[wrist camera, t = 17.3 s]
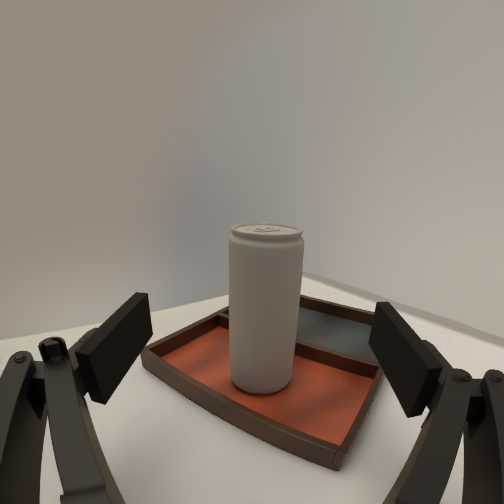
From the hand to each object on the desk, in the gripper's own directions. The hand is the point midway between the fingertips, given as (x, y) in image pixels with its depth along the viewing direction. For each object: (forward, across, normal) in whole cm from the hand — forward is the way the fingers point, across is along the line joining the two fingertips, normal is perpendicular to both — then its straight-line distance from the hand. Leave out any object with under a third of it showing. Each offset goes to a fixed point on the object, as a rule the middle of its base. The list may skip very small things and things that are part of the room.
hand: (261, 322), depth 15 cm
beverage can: (+4, 0, -8) cm, 9 cm away
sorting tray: (+8, +3, -8) cm, 12 cm away
